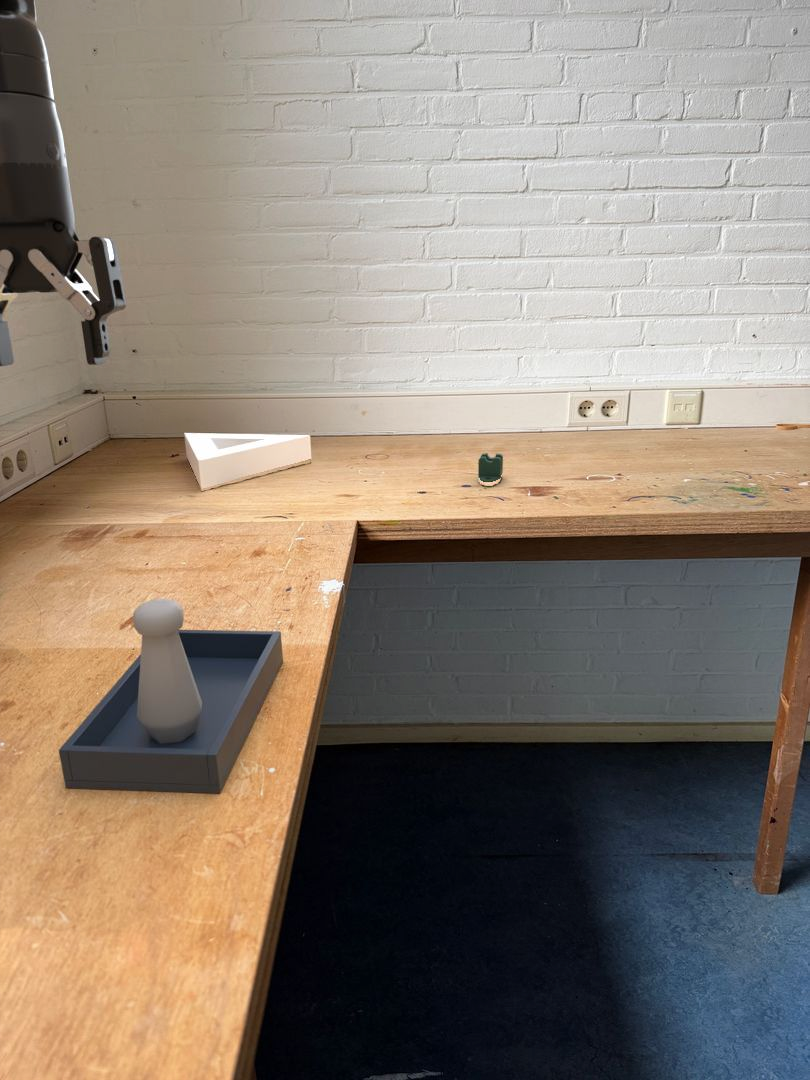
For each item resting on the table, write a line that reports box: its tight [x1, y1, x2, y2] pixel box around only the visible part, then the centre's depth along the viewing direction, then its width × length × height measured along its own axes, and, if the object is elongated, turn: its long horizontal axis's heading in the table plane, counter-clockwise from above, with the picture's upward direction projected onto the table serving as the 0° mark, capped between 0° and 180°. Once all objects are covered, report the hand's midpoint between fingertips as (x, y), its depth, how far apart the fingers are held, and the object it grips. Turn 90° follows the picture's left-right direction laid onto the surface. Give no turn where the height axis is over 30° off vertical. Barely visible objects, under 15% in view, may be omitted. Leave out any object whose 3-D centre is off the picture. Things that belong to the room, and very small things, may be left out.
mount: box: [477, 452, 504, 482], centre depth 162 cm, size 11×4×5 cm, turn 167°
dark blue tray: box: [58, 629, 284, 794], centre depth 78 cm, size 14×24×4 cm, turn 175°
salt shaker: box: [132, 598, 202, 744], centre depth 73 cm, size 6×6×13 cm
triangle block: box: [183, 432, 312, 490], centre depth 169 cm, size 30×26×6 cm
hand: (50, 364), depth 70 cm, fingers open, 8 cm apart
